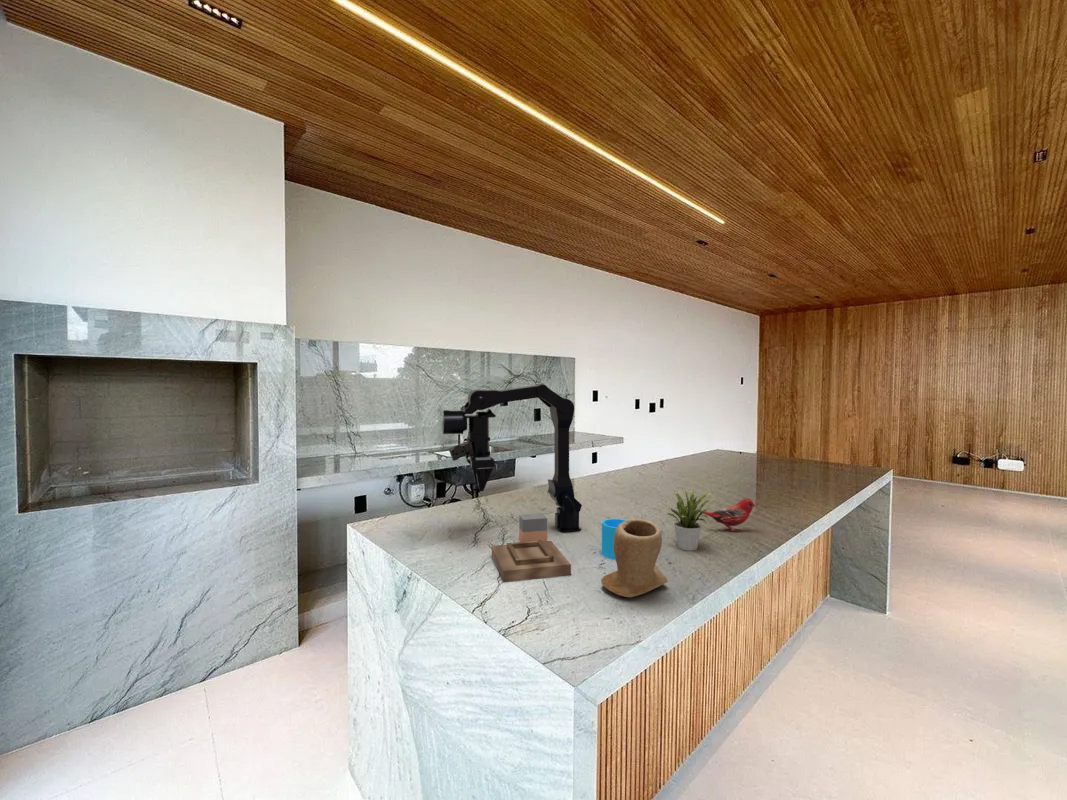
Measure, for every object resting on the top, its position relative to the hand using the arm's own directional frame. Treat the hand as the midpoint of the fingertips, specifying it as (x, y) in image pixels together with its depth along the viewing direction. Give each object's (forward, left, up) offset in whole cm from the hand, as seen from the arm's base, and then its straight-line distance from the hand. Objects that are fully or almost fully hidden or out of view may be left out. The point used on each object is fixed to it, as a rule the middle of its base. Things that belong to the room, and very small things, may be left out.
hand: (479, 487), depth 133 cm
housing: (-14, +8, -14) cm, 21 cm away
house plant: (-55, +23, -15) cm, 61 cm away
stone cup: (-29, +42, -15) cm, 53 cm away
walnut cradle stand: (-9, +24, -14) cm, 29 cm away
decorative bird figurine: (-73, +13, -15) cm, 76 cm away
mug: (-35, +22, -15) cm, 44 cm away
